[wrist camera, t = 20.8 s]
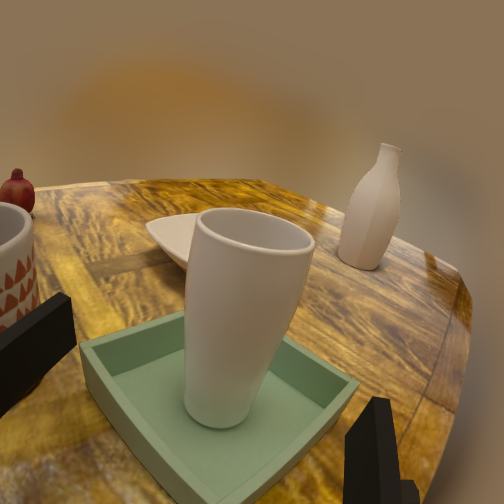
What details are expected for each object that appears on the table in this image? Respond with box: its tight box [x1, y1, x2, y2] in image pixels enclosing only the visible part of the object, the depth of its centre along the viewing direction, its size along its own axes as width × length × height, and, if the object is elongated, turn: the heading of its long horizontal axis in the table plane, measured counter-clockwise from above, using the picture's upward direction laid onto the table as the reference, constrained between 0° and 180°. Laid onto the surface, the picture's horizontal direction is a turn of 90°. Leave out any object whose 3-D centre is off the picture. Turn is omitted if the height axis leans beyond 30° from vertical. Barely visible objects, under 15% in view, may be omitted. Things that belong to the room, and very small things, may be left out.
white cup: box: [183, 208, 315, 429], centre depth 20 cm, size 7×7×15 cm
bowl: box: [146, 213, 200, 273], centre depth 46 cm, size 22×22×5 cm
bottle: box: [338, 143, 402, 270], centre depth 59 cm, size 11×11×25 cm
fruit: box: [0, 169, 35, 213], centre depth 44 cm, size 8×8×10 cm
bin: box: [79, 310, 360, 504], centre depth 22 cm, size 16×16×5 cm
